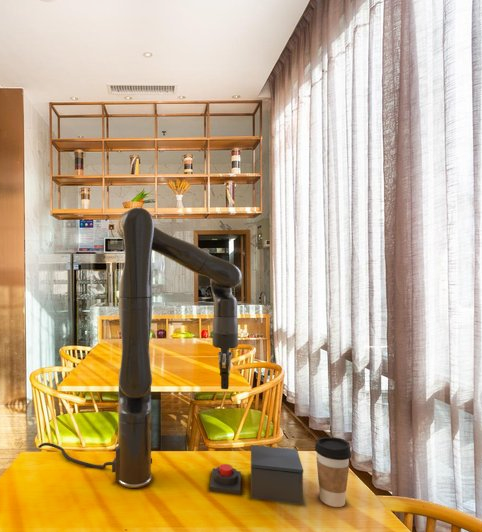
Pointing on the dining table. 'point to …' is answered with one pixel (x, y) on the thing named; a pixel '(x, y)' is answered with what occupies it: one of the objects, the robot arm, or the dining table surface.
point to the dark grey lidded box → (277, 485)
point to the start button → (226, 470)
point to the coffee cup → (332, 469)
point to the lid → (275, 459)
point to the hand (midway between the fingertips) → (224, 388)
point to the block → (226, 482)
